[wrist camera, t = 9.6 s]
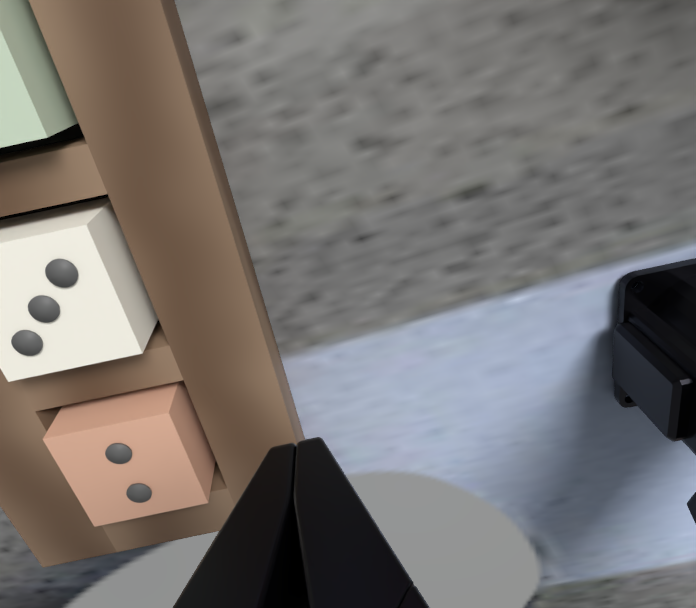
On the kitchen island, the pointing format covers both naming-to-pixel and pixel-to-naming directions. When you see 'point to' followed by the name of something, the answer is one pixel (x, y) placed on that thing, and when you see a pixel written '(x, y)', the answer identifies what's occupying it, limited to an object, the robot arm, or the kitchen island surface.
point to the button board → (144, 275)
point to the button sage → (28, 80)
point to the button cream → (69, 291)
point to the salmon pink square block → (133, 453)
